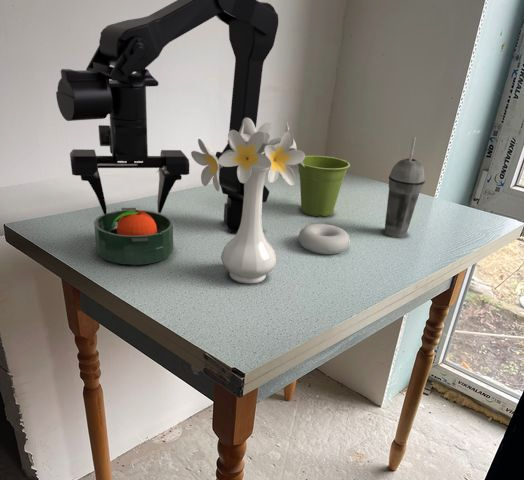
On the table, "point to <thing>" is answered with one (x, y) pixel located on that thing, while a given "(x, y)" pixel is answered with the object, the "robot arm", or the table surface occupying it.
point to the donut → (324, 239)
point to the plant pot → (321, 183)
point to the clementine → (135, 224)
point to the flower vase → (251, 192)
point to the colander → (121, 245)
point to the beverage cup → (403, 194)
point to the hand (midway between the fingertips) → (132, 213)
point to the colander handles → (141, 239)
